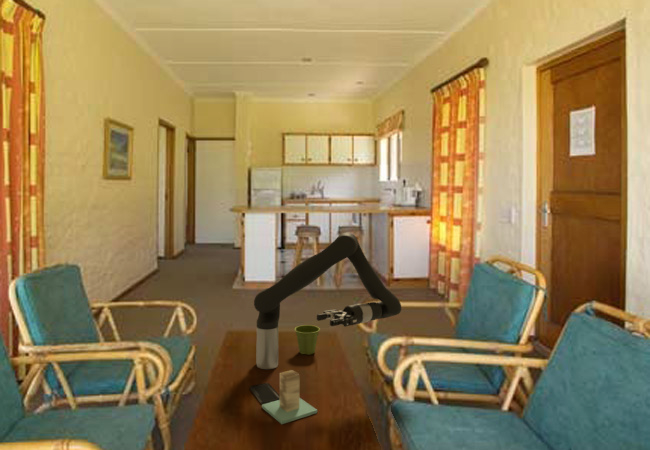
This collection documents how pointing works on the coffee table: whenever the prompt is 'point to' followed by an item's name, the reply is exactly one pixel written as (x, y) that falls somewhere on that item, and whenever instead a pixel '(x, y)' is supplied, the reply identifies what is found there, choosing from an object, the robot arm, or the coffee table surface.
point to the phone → (264, 393)
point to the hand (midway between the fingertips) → (323, 320)
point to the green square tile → (286, 417)
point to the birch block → (289, 390)
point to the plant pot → (307, 338)
